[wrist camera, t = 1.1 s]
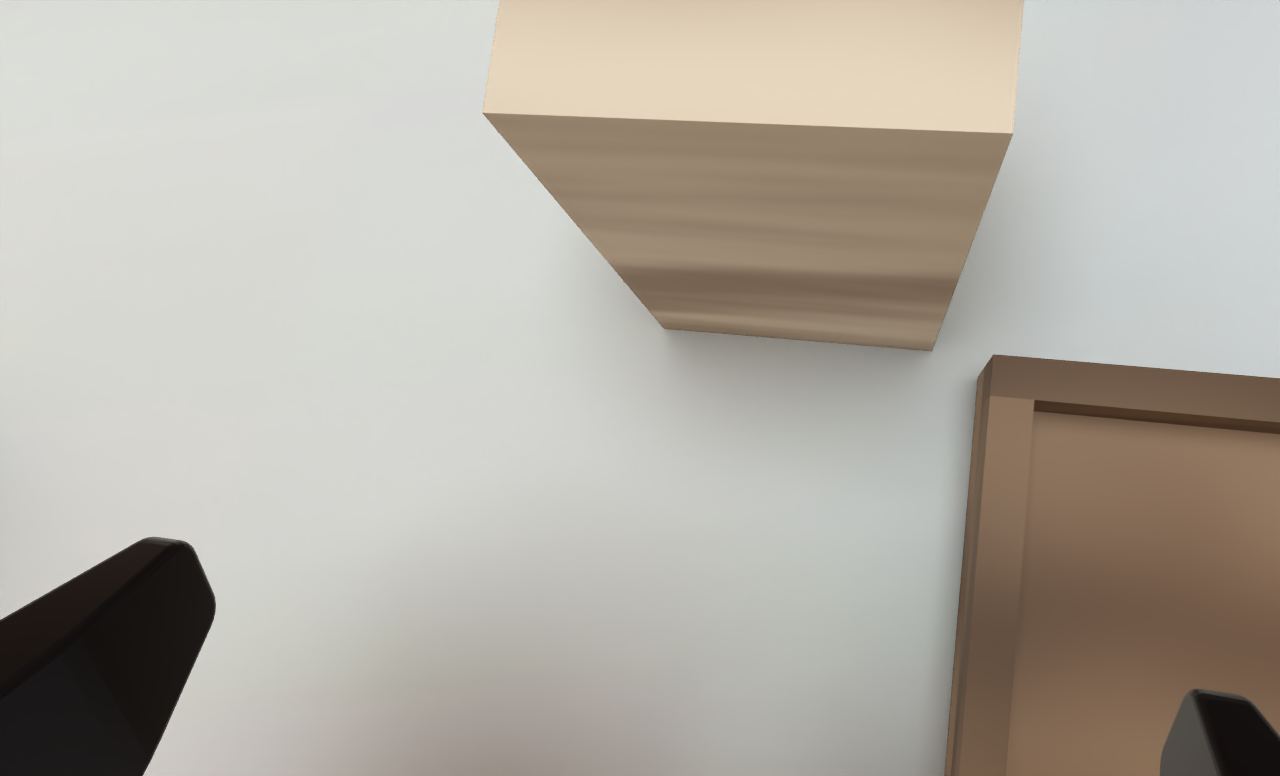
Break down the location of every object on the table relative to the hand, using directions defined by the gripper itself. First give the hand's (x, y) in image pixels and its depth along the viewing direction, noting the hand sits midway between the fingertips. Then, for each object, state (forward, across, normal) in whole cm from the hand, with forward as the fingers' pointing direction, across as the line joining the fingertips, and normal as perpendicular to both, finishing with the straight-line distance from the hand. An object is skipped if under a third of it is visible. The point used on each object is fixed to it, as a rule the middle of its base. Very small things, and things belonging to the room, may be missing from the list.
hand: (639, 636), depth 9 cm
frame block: (+15, 0, +4) cm, 16 cm away
